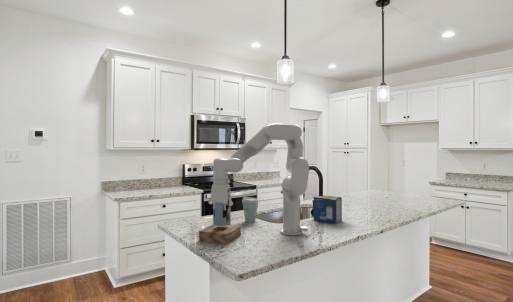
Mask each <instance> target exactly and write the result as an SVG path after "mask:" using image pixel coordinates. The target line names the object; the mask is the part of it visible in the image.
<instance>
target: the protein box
mask: <svg viewBox="0 0 513 302" xmlns="http://www.w3.org/2000/svg"><path fill="white" fill-rule="evenodd" d="M322 195H323V196H319V195H316V196H313V221H315V222H321V223H327V224H334V225H335V224H338V223H340V222H342V221H343V220H342V217H343V216H342V215H343V213H342V212H343V211H342V210H343V208H342V207H343V203H342V200H343V199H342V196H333V195H324V194H322Z"/></svg>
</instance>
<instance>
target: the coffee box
mask: <svg viewBox="0 0 513 302" xmlns="http://www.w3.org/2000/svg"><path fill="white" fill-rule="evenodd" d="M227 204H228V205H229V203H227ZM231 207H232V206H230V207H229V208H228V209H227V217H226V225H232V224H231V218H232V217H231V216H232V215H231V210H232V209H231ZM212 210H213V211H212V212H213V214H212V215H213V216H212V225H213V224H215V217H214V209H213V208H212Z"/></svg>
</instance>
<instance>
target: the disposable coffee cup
mask: <svg viewBox="0 0 513 302" xmlns="http://www.w3.org/2000/svg"><path fill="white" fill-rule="evenodd" d="M241 202H242V207H243V216H244V221H245V222H246V223H255V222H256V219H257V211H258V205H259V200H258V198H256V197H249V196H248V197H247V196H246V197H242V200H241Z"/></svg>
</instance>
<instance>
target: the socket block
mask: <svg viewBox="0 0 513 302" xmlns="http://www.w3.org/2000/svg"><path fill="white" fill-rule="evenodd" d="M241 228H242V227H241V226H240V225H232V224H230V225H224V226H216V225H215V224H213V223H212V224H211V225H208V226H206V227H204V228H203V229H200V230H199V231H198V241H199V242H205V243H212V244H220V245H226V246H227V245H229V244H230V243H232V242H234V241H235V240H236V239H238V238H239V237H241V233H242V232H241V231H242V229H241Z"/></svg>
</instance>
